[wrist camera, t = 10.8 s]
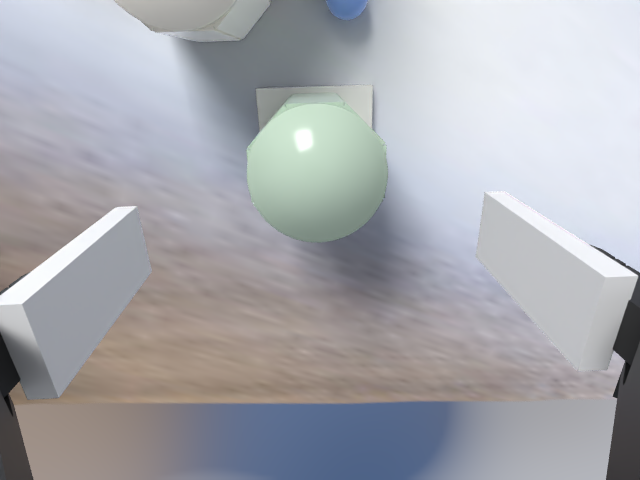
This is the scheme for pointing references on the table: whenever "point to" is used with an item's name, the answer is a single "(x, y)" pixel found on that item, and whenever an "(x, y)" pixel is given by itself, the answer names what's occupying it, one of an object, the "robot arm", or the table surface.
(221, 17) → the cream cup
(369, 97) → the coaster
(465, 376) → the table surface
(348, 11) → the marble
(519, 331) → the table surface
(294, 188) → the sage green dome
